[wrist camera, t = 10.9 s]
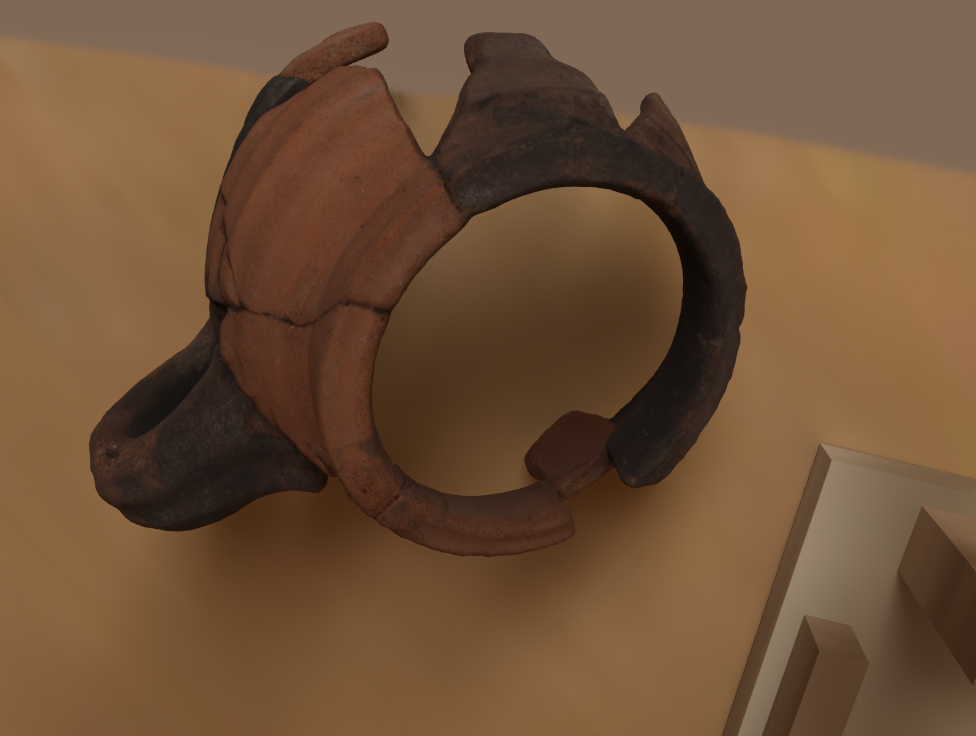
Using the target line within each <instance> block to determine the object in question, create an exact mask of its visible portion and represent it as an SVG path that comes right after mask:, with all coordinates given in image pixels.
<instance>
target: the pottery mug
mask: <svg viewBox="0 0 976 736" xmlns="http://www.w3.org/2000/svg"><path fill="white" fill-rule="evenodd" d="M388 42H389V39H388V34H387V32H386V30H385V28H384V26H383V25H382V24H380V23H378V22H371V23H366V24H362V25H358V26H354V27H351V28H348V29H345V30H342V31H340V32H337V33H335V34H333V35H331V36H329V37H328V38H326V39H325V40H324V41H323V42H321V43H320V44H318V45H317V46H315V47H313V48H311V49H310V50H308V51H306V52H304V53H302V54H301V55H299V56H297V57H296V58H295V59H294V60H293V61H291V62H290V63H289V64H288V65H287V66H286V67H285V69H284V70H283V71H282V72H281V73H280V74H279V75H277V76H275V77H273V78H272V79H271V80H270V81H268V83H267V84H266V85H265V86H264V87H263V88H262V90H261V91H260V92H259V94H258V96H257V97H256V99H255V101H254V103H253V104H252V106H251V108H250V110H249V112H248V114H247V117H246V119H245V122H244V126H243V128H242V130H241V132H240V133H239V135H238V137H237V139H236V141H235V144H234V147H233V150H232V154H231V157H230V160H229V162H228V164H227V167H226V169H225V172H224V176H223V180H222V183H221V185H220V189H219V192H218V196H217V199H216V203H215V207H214V211H213V215H212V219H211V224H210V230H209V236H208V243H207V251H206V263H205V290H206V296H207V297H208V298H209V300H210V305H209V310H210V318H209V319H208V321H207V322H206V324H205V326H204V327H203V328H202V329H201V331H200V332H199V333H198V335H197V336H196V337H195V339H194V340H193V341H192V342H191V343H190V344H189V345H188V346H187V347H186V348H184V349H183V350H181V351H180V352H178V353H177V354H175V355H174V356H173V357H171V358H170V359H168V360H167V361H166V362H165V363H163V364H162V365H161V366H159V367H158V368H156V369H155V370H154V371H152V372H151V373H150V374H148V375H147V376H146V377H144V378H143V379H142V380H140V381H139V382H138V383H137V384H136V385H134V386H133V387H132V388H131V389H130V390H129V391H128V392H127V393H126V394H125V395H124V396H123V397H122V398H121V399H120V400H119V401H118V402H116V403H115V404H114V405H113V406H112V407H111V408H110V409H109V410H108V411H107V412H106V414H105V415H104V416H103V418H102V419H101V421H100V422H99V423H98V425H97V426H96V427H95V428H94V430H93V432H92V434H91V437H90V442H89V449H90V469H91V472H92V473H93V476H94V480H95V486H96V490H97V492H98V494H99V496H100V497H101V498H102V499H103V500H105V501H106V502H107V503H108V504H110V505H112V506H113V507H115V508H117V509H119V510H120V512H121V513H122V514H123V515H124V516H125V518H127V519H128V520H129V521H131V522H132V523H135V524H137V525H140V526H143V527H147V528H154V529H160V530H165V531H187V530H193V529H197V528H200V527H203V526H206V525H209V524H212V523H215V522H218V521H220V520H222V519H224V518H226V517H228V516H230V515H232V514H234V513H236V512H237V511H239V510H240V509H241V508H243V507H244V506H246V505H247V504H249V503H250V502H252V501H254V500H256V499H258V498H260V497H263V496H266V495H269V494H272V493H276V492H281V491H290V490H293V491H305V492H312V493H317V492H320V491H321V490H322V489H323V488H324V487H325V486H326V484H327V480H328V475H329V476H331V477H335V476H338V478H339V480H340V482H341V483H342V484H343V486H344V488H345V490H346V491H347V492H348V496H349V498H350V499H352V500H355V502H356V504H357V505H358V506H359V507H360V508H361V509H362V510H363V512H364V513H366V514H367V515H368V516H370V517H372V518H373V519H375V520H376V521H377V522H378V523H380V524H381V525H382V526H383V527H386V528H388V529H390V530H391V531H393V532H394V533H395V534H397V535H398V536H400V537H402V538H405V539H409V540H411V541H413V542H415V543H417V544H419V545H422V546H425V547H428V548H430V549H433V550H437V551H440V552H444V553H450V554H453V555H459V556H469V555H472V556H486V557H492V556H499V555H515V554H521V553H524V552H528V551H533V550H537V549H541V548H546V547H548V546H551V545H554V544H557V543H559V542H561V541H564V540H566V539H567V538H569V537H571V536H573V535H574V534H575V527H574V522H573V519H572V516H571V514H570V512H569V510H568V509H567V508H566V507H565V506H564V505H563V503H562V500H565V499H567V498H568V497H570V496H572V495H574V494H576V493H578V492H580V491H582V490H583V489H585V488H587V487H589V486H590V485H591V484H593V483H594V482H595V481H597V480H598V479H599V478H600V477H602V476H603V475H604V474H605V473H606V472H608V471H609V470H611V469H612V468H613V467H614V466H615V468H616V469H617V472H618V473H619V476H620V478H621V480H622V482H623V483H624V484H626V485H627V486H629V487H631V488H637V487H642V486H648V485H654V484H657V483H659V482H660V481H661V480H662V479H664V478H665V477H667V476H668V475H669V474H670V473H671V471H672V470H673V469H674V467H675V466H676V465H677V463H678V462H679V461H681V460H682V459H683V458H684V456H685V455H686V453H687V452H688V451H689V450H690V448H691V447H692V446H693V445H694V444H695V442H696V441H697V439H698V436H699V434H700V433H701V431H702V430H703V429H704V427H705V426H706V425H707V423H708V422H709V420H710V418H711V417H712V415H713V414H714V412H715V411H716V409H717V407H718V404H719V402H720V400H721V398H722V396H723V394H724V392H725V390H726V388H727V384H728V382H729V380H730V379H731V377H732V372H733V369H734V366H735V361H736V356H737V352H738V348H739V345H740V332H739V327H740V325H741V323H742V321H743V318H744V310H745V297H746V290H747V285H746V281H745V277H744V274H743V262H742V256H741V249H740V243H739V240H738V237H737V234H736V232H735V229H734V226H733V224H732V222H731V220H730V219H729V217H728V215H727V213H726V210H725V208H724V207H723V206H722V204H721V203H720V201H719V199H718V198H717V197H716V196H715V195H714V193H713V192H712V191H710V190H709V189H708V188H707V187H706V185H705V184H704V182H703V179H702V177H701V174H700V172H699V169H698V167H697V164H696V162H695V160H694V157H693V154H692V152H691V149H690V147H689V145H688V143H687V141H686V139H685V136H684V134H683V132H682V130H681V128H680V126H679V124H678V122H677V121H676V119H675V118H674V117H673V115H672V114H671V112H670V110H669V109H668V108H667V106H666V105H665V104H664V102H663V100H662V99H661V97H660V96H659V95H658V94H657V93H650V94H648V95H646V96H645V98H644V99H643V101H642V102H641V106H640V111H641V112H640V115H639V116H638V117H637V118H636V119H635V120H634V122H633V123H632V124H631V125H630V126H629V127H628V128H627V129H626V130H625V131H624V130H623V129H622V128H621V127H620V126H619V124H618V121H617V119H616V117H615V116H614V113H613V110H612V108H611V106H610V104H609V102H608V100H607V98H606V96H605V95H604V94H602V93H601V92H600V91H599V90H598V89H597V88H596V86H595V85H594V83H593V82H592V81H591V80H590V78H588V77H587V76H586V75H585V74H584V73H582V72H581V71H579V70H577V69H576V68H574V67H571V66H569V65H566V64H564V63H562V62H559V61H558V60H556V59H555V58H553V57H552V56H551V54H550V53H549V51H548V50H547V49H546V47H545V46H544V45H543V44H542V43H541V42H540V41H539V40H538V39H536V38H535V37H533V36H531V35H527V34H523V33H517V34H516V33H494V32H483V33H478V34H475V35H472V36H470V37H469V38H468V39H467V40H466V42H465V45H464V53H465V58H466V62H467V64H468V68H469V70H470V72H471V75H470V76H469V77H468V78H467V80H466V82H465V83H464V85H463V87H462V89H461V92H460V95H459V99H458V102H457V105H456V108H455V112H454V114H453V116H452V118H451V120H450V122H449V124H448V126H447V128H446V130H445V131H444V133H443V135H442V137H441V139H440V142H439V143H438V145H437V147H436V148H435V150H434V152H433V153H432V155H431V156H425V155H424V153H423V152H422V150H421V148H420V147H419V145H418V143H417V141H416V139H415V137H414V135H413V133H412V131H411V130H410V128H409V127H408V125H407V124H406V123H405V122H404V120H403V118H402V116H401V115H400V113H399V111H398V109H397V107H396V105H395V103H394V101H393V99H392V97H391V96H390V93H389V91H388V86H387V83H386V81H385V79H384V77H383V75H382V74H381V73H380V72H379V70H378V69H376V68H370V69H367V68H365V67H361V66H348V65H350V64H352V63H354V62H357V61H359V60H362V59H364V58H367V57H369V56H371V55H374V54H376V53H379V52H380V51H382V50H383V49H385V48H386V47H387V45H388ZM558 187H597V188H604V189H610V190H613V191H616V192H619V193H623V194H626V195H629V196H631V197H633V198H635V199H640V200H641V201H642V202H644V203H645V204H646V205H647V206H649V207H650V208H651V209H652V210H653V211H654V212H655V213H656V214H657V215H658V216H659V218H660V219H661V220H662V221H663V223H664V224H665V226H666V227H667V229H668V231H669V232H670V234H671V236H672V238H673V240H674V242H675V244H676V247H677V250H678V253H679V256H680V260H681V264H682V270H683V298H682V306H681V312H680V317H679V323H678V326H677V330H676V334H675V336H674V339H673V342H672V344H671V347H670V349H669V351H668V353H667V355H666V357H665V359H664V360H663V362H662V363H661V365H660V367H659V368H658V370H657V371H656V372H655V374H654V375H653V377H652V378H651V379H650V380H649V381H648V383H647V384H646V385H645V386H644V387H643V388H642V389H641V390H640V391H639V392H638V393H637V394H636V395H635V396H634V397H633V398H632V400H631V401H630V402H629V403H628V404H626V405H625V406H624V407H623V408H621V410H620V411H619V412H618V413H617V414H616V415H615V416H614V417H613V418H611V419H607V418H603V417H601V416H599V415H595V414H588V413H583V412H580V411H572V412H569V413H567V414H565V415H563V416H562V417H560V418H559V419H558V420H557V421H556V422H555V423H554V424H553V425H552V426H551V427H550V428H549V429H547V430H546V431H545V432H544V433H543V434H542V435H541V437H540V438H539V439H538V440H537V441H536V442H535V443H534V444H533V445H532V447H531V448H530V449H529V450H528V452H527V453H526V455H525V458H524V461H525V465H526V467H527V470H528V472H529V473H530V475H531V476H533V477H534V478H535V479H540V480H542V481H539V482H537V483H534V484H532V485H529V486H527V487H524V488H521V489H518V490H513V491H509V492H505V493H498V494H491V495H483V496H458V495H451V494H446V493H442V492H438V491H436V490H433V489H431V488H428V487H426V486H424V485H421V484H419V483H417V482H415V481H414V480H412V479H411V478H410V477H409V476H407V475H406V474H405V473H404V472H403V471H402V470H401V469H400V467H399V466H397V465H394V464H393V463H392V462H391V460H390V458H389V457H388V455H387V453H386V451H385V450H384V448H383V446H382V443H381V441H380V439H379V435H378V432H377V429H376V427H375V422H374V418H373V408H372V381H373V374H374V364H375V359H376V356H377V352H378V348H379V344H380V341H381V338H382V336H383V333H384V331H385V328H386V326H387V324H388V321H389V318H390V314H391V311H392V310H393V308H394V307H395V306H396V304H397V303H398V302H399V300H400V298H401V296H402V295H403V293H404V292H405V290H406V289H407V287H408V285H409V284H410V282H411V281H412V279H413V278H414V277H415V275H416V274H417V273H418V272H419V271H420V270H421V269H422V267H423V266H424V265H425V264H426V263H427V261H428V260H429V259H430V258H431V257H432V256H433V255H434V254H435V253H436V252H437V251H438V250H439V249H440V248H441V247H443V246H444V245H445V244H446V243H447V242H448V241H449V240H450V239H452V238H453V237H454V236H455V235H456V234H457V233H458V232H459V231H460V230H461V229H463V228H464V226H465V225H466V224H467V223H468V221H469V220H470V219H471V218H472V217H473V216H475V215H477V214H480V213H482V212H485V211H488V210H491V209H494V208H496V207H498V206H500V205H502V204H504V203H506V202H508V201H510V200H513V199H516V198H518V197H521V196H524V195H527V194H530V193H534V192H537V191H541V190H546V189H550V188H558Z"/></svg>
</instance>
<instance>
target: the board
mask: <svg viewBox="0 0 976 736" xmlns="http://www.w3.org/2000/svg"><path fill="white" fill-rule="evenodd" d="M722 736H976V480H975V479H971V478H967V477H963V476H958V475H954V474H950V473H945V472H941V471H937V470H933V469H928V468H924V467H920V466H916V465H911V464H907V463H903V462H898V461H894V460H890V459H886V458H881V457H877V456H873V455H868V454H864V453H860V452H856V451H851V450H847V449H843V448H838V447H834V446H830V445H826V444H820V447H819V450H818V452H817V455H816V458H815V461H814V464H813V467H812V470H811V473H810V476H809V479H808V482H807V485H806V488H805V491H804V494H803V497H802V500H801V503H800V506H799V509H798V512H797V515H796V518H795V521H794V524H793V527H792V530H791V533H790V536H789V539H788V542H787V545H786V548H785V551H784V554H783V557H782V560H781V563H780V566H779V569H778V572H777V575H776V578H775V581H774V584H773V587H772V590H771V592H770V595H769V598H768V601H767V604H766V607H765V610H764V613H763V616H762V619H761V622H760V625H759V628H758V631H757V634H756V637H755V640H754V643H753V646H752V649H751V652H750V655H749V658H748V661H747V664H746V667H745V670H744V673H743V676H742V679H741V682H740V685H739V688H738V691H737V694H736V697H735V700H734V703H733V706H732V709H731V712H730V715H729V718H728V721H727V724H726V727H725V730H724V732H723V735H722Z"/></svg>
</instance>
